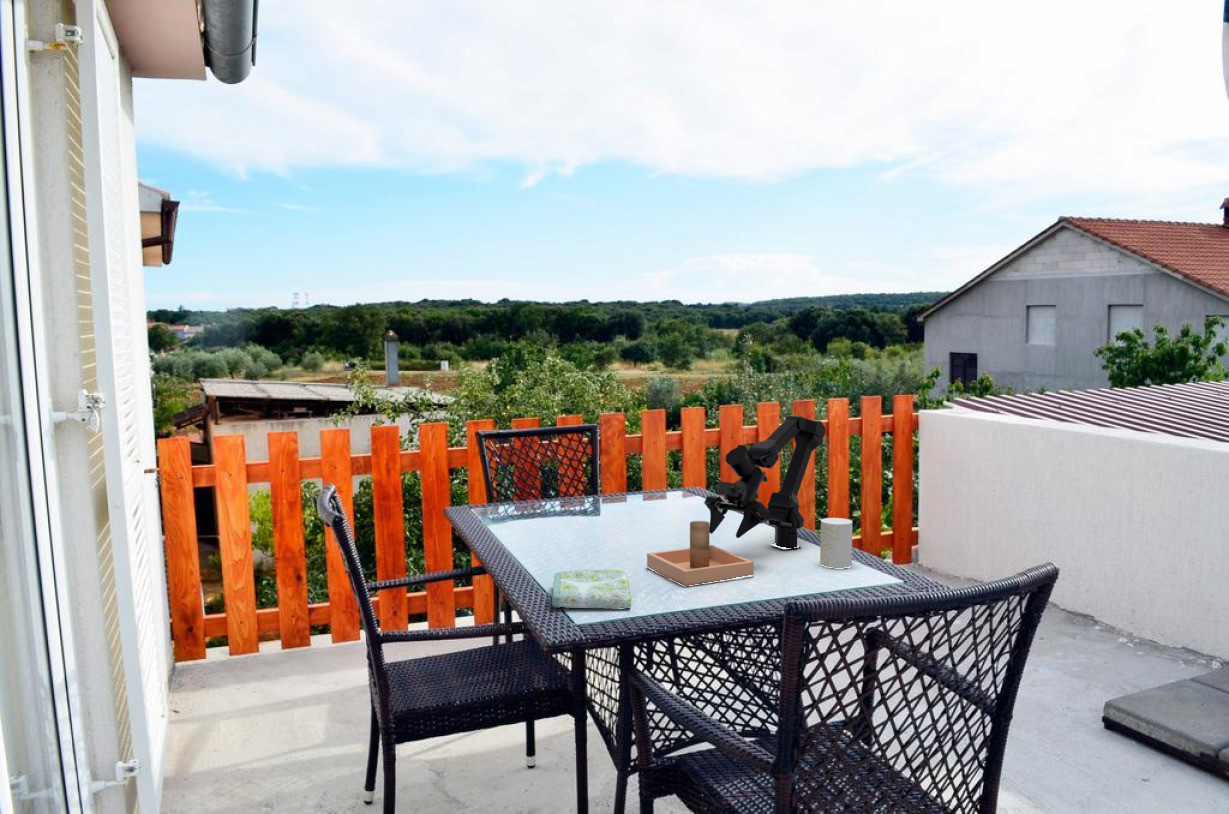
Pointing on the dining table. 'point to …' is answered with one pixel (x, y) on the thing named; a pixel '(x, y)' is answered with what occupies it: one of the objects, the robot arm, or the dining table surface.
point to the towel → (591, 589)
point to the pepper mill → (699, 544)
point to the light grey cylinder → (836, 542)
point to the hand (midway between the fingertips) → (723, 535)
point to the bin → (678, 568)
